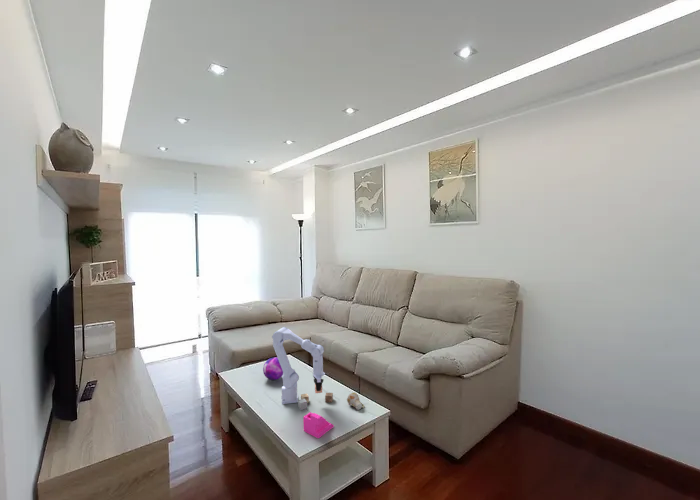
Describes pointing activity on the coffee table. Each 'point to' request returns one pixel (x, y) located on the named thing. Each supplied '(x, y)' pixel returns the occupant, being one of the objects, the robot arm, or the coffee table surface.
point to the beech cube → (305, 397)
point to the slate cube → (302, 404)
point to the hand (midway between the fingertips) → (318, 388)
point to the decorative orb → (272, 369)
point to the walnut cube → (329, 397)
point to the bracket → (316, 425)
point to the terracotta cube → (318, 391)
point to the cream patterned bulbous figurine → (355, 401)
